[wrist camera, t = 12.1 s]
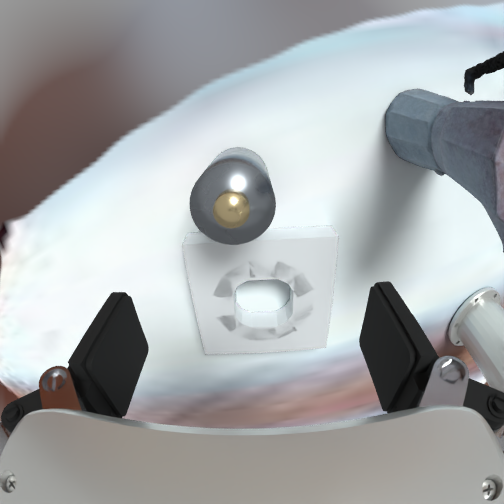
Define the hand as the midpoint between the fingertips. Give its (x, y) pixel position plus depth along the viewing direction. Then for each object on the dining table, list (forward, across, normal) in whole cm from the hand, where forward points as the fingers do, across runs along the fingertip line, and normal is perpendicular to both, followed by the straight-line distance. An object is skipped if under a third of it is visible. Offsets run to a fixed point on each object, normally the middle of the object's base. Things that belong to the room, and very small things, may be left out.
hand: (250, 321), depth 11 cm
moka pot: (+21, -18, -7) cm, 29 cm away
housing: (+21, 0, +13) cm, 24 cm away
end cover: (+21, +2, -1) cm, 21 cm away
